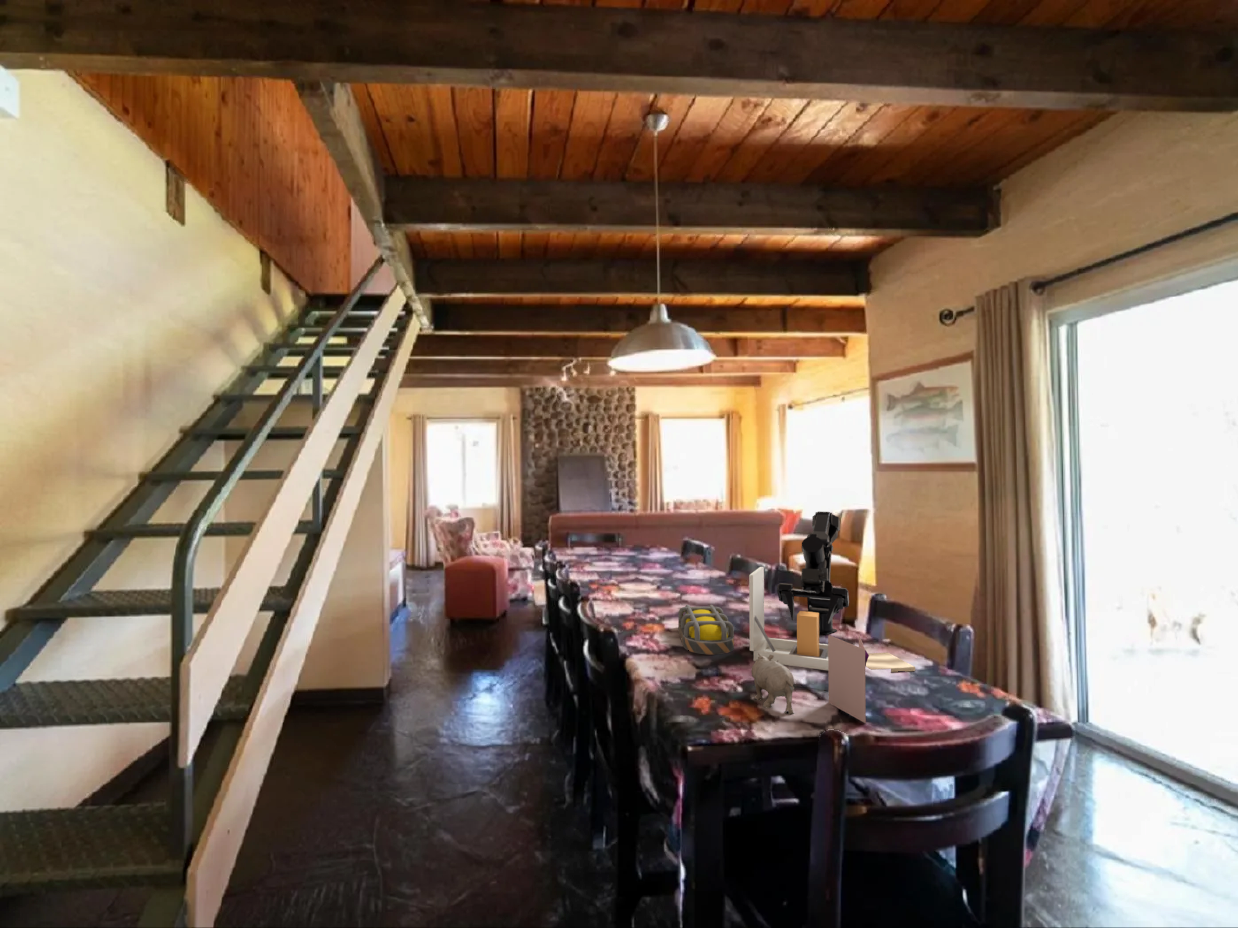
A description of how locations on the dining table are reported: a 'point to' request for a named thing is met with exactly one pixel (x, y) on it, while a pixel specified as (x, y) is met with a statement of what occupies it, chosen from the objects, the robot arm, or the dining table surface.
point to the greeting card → (847, 677)
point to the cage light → (705, 630)
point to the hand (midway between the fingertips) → (809, 621)
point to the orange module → (808, 633)
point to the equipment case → (771, 646)
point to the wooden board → (887, 662)
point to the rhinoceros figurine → (772, 681)
